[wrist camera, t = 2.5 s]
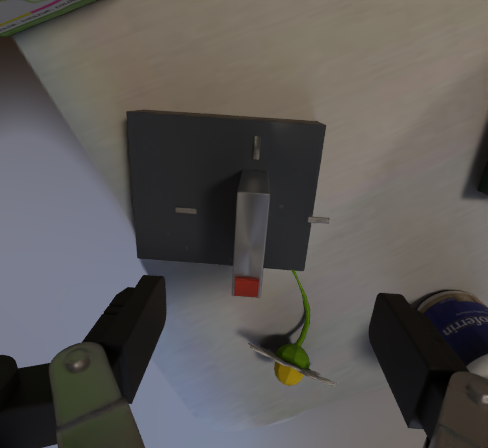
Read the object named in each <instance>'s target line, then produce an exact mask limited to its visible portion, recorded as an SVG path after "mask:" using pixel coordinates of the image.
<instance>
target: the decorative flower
mask: <svg viewBox="0 0 488 448" xmlns="http://www.w3.org/2000/svg"><path fill="white" fill-rule="evenodd" d="M292 272H293V274H294V276H295V278H296V279H297V282H298V284H299V287H300V290H301V292H302V298H303V304H304V309H305V322H304V326H303V329H302V332H301V335H300V337H299V339H298V340H297V342H296V344H286V345H283V346H282V347H280V348H279V349H278V350H277V353H274V354H273V353H271V352H269V351H268V350H266V349H264V348H262V347H260V348H261V349H262V350H261V349H259V348H258V347H256V346H254V345H252V344H250V343H248V344H249V345H251V346H250V347H251V348H252V349H254V350H256V351H257V352H259V353H261V354H263V355H265V356H268V357H270V358H272V360H274V361H276V362H275V366H274V370H275V375H276V377H277V378H278V380H279V381H280V382H282V383H283V384H285V385H288V386H290V385H296V384H297V383H298V382H300V381H301V379H302V378H303V376H304V375H306V376H308V377H310V378H313V379H315V380H316V379H317V380H319V381H321V382H324V383H326V384H328V385H331V386H335V387H337V386H336V385H333V384H337V383H335V382H332V381H330V380H328V379H326V378H323V377H320V376H317V375H320V374H319V373H317V372H315V371H311V370H310V369H309V365H310V362H309V358H308V355H307V354H306V352H305V351H304V349H303V348H301V347H300V346H301V344H302V342H303V341H304V339H305V336H306V333H307V330H308V327H309V324H310V307H309V303H308V300H307V297H306V294H305V292H304V290H303V288H302V286H301V284H300V282H299V280H298V277H297V275H296V272H295V270H292ZM253 347H254V348H253ZM263 350H264V351H263ZM309 375H310V376H309ZM331 383H332V384H331Z"/></svg>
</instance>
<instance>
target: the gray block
mask: <svg viewBox="0 0 488 448" xmlns="http://www.w3.org/2000/svg"><path fill="white" fill-rule="evenodd" d="M269 202H270V188H269V178H268V172H267V171H254V170H243V171H242V175H241V179H240V183H239V187H238V191H237V206H236V224H235V242H234V261H233V279H232V296H244V297H256V298H260V296H261V286H262V275H263V265H264V254H265V244H266V233H267V223H268V212H269Z"/></svg>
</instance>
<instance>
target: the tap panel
mask: <svg viewBox="0 0 488 448" xmlns="http://www.w3.org/2000/svg"><path fill="white" fill-rule="evenodd" d="M127 126H128V139H129V152H130V165H131V179H132V192H133V205H134V219H135V232H136V245H137V258H140V259H153V260H166V261H179V262H192V263H205V264H218V265H231V266H233V261H234V242H235V224H236V206H237V191H238V187H239V183H240V179H241V175H242V171H243V170H254V171H267V172H268V178H269V188H270V202H269V212H268V223H267V233H266V244H265V254H264V265H263V268H270V269H283V270H296V271H304V268H305V261H306V255H307V248H308V242H309V235H310V228H311V222H312V223H326V224H329V218H323V217H312V215H313V209H314V202H315V196H316V189H317V182H318V176H319V169H320V163H321V156H322V150H323V143H324V136H325V130H326V125H325V124H322V123H320V122H318V121H306V120H291V119H276V118H261V117H246V116H231V115H216V114H201V113H186V112H171V111H156V110H136V111H127Z"/></svg>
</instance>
